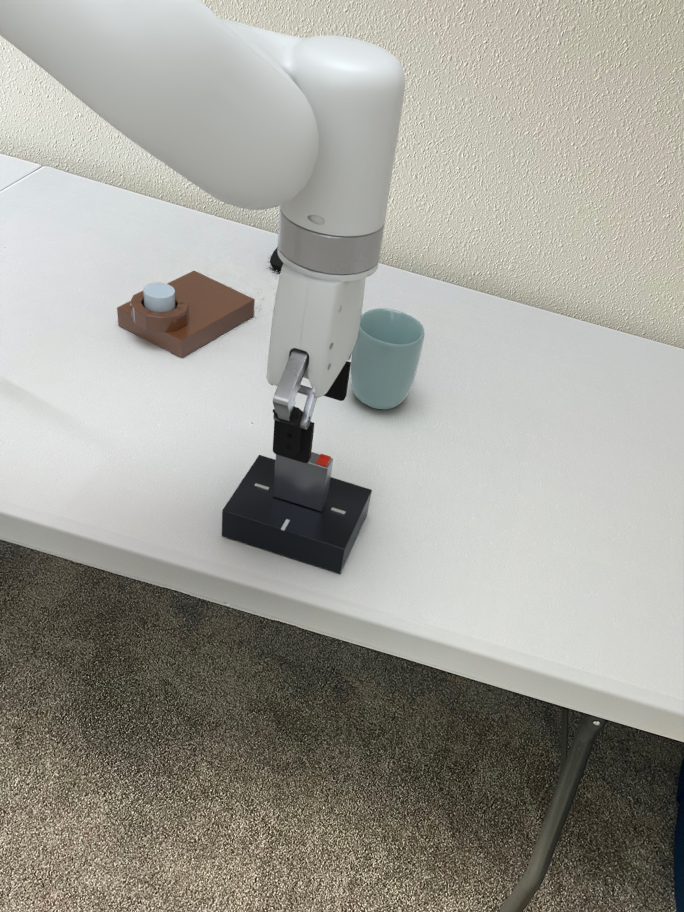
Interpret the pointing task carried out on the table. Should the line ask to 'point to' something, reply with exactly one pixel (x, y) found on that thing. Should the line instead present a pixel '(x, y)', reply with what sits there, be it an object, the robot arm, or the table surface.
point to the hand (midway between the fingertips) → (311, 424)
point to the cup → (385, 357)
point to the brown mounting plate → (188, 314)
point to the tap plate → (295, 519)
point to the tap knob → (303, 480)
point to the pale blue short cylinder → (159, 297)
